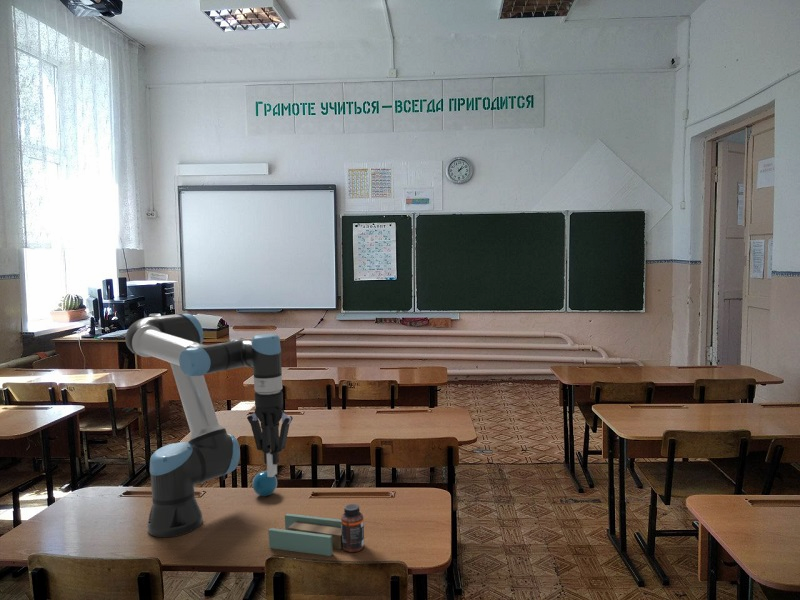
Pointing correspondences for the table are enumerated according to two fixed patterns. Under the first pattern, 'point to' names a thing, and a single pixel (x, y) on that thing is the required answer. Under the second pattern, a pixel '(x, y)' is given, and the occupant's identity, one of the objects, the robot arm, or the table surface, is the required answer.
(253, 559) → the table surface
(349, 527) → the supplement bottle
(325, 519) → the channel
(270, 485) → the ball
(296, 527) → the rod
